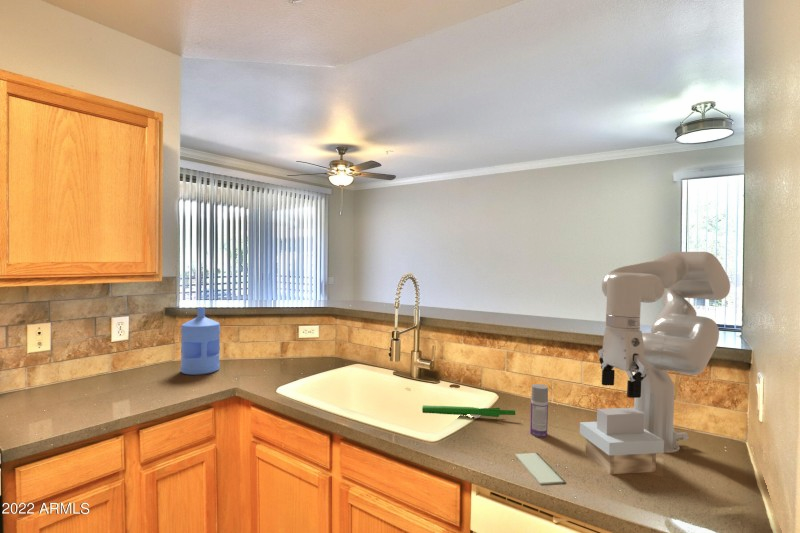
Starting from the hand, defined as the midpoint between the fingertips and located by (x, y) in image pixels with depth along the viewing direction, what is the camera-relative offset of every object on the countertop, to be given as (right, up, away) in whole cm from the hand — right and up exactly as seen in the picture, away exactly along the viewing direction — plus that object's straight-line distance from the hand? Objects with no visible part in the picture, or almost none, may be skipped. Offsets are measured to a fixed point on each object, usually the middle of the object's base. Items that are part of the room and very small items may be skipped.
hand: (620, 390), depth 103 cm
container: (-15, -19, +17) cm, 29 cm away
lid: (0, -13, 0) cm, 13 cm away
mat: (-16, -19, -1) cm, 25 cm away
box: (0, -19, +1) cm, 19 cm away
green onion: (-33, -19, +32) cm, 50 cm away
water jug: (-144, -15, +80) cm, 166 cm away
